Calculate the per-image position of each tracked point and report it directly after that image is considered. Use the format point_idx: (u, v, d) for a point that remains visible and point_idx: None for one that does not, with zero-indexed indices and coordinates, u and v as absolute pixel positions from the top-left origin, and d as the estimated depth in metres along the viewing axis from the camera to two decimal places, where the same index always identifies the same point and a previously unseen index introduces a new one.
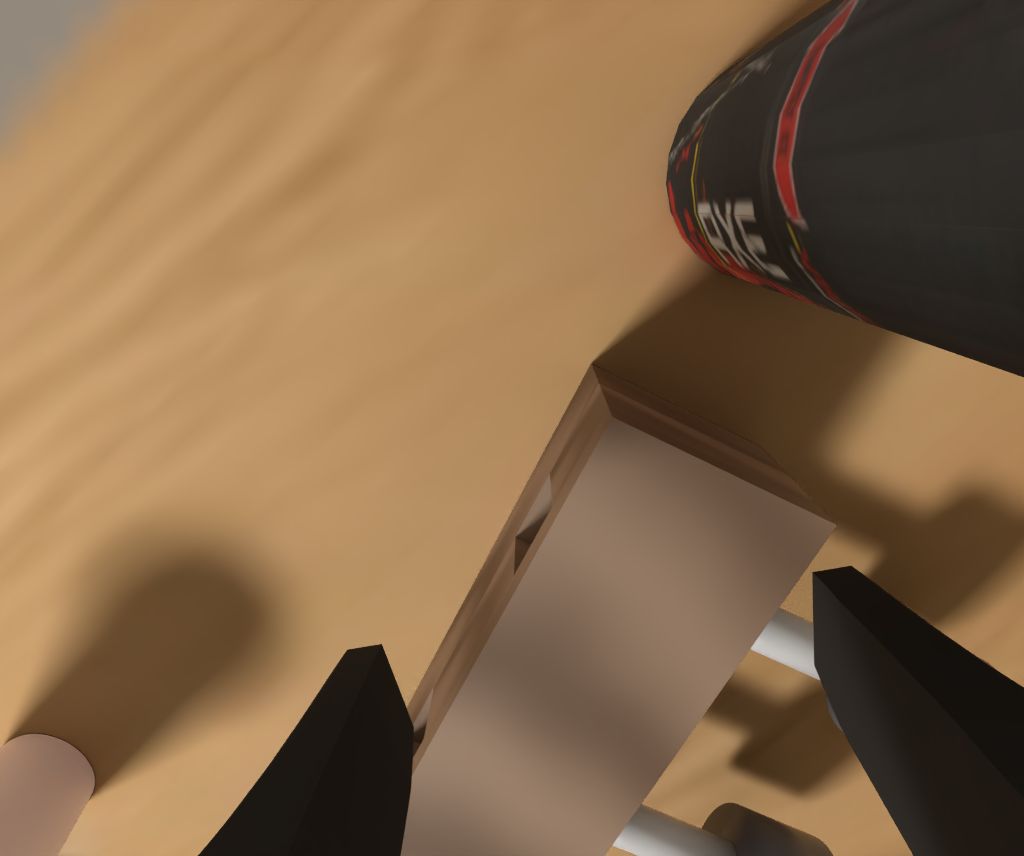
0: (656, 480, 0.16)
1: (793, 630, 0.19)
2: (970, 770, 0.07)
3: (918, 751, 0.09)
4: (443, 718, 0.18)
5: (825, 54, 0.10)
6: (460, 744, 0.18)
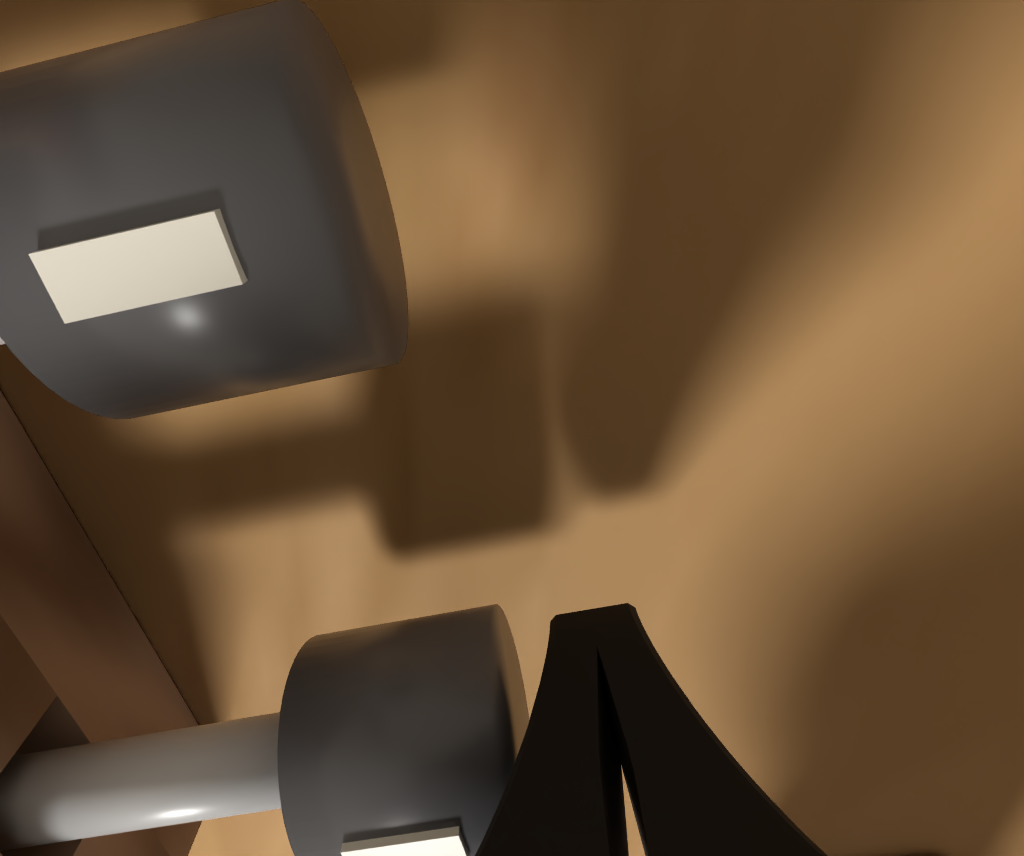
0: None
1: None
2: None
3: (635, 791, 0.09)
4: None
5: None
6: None
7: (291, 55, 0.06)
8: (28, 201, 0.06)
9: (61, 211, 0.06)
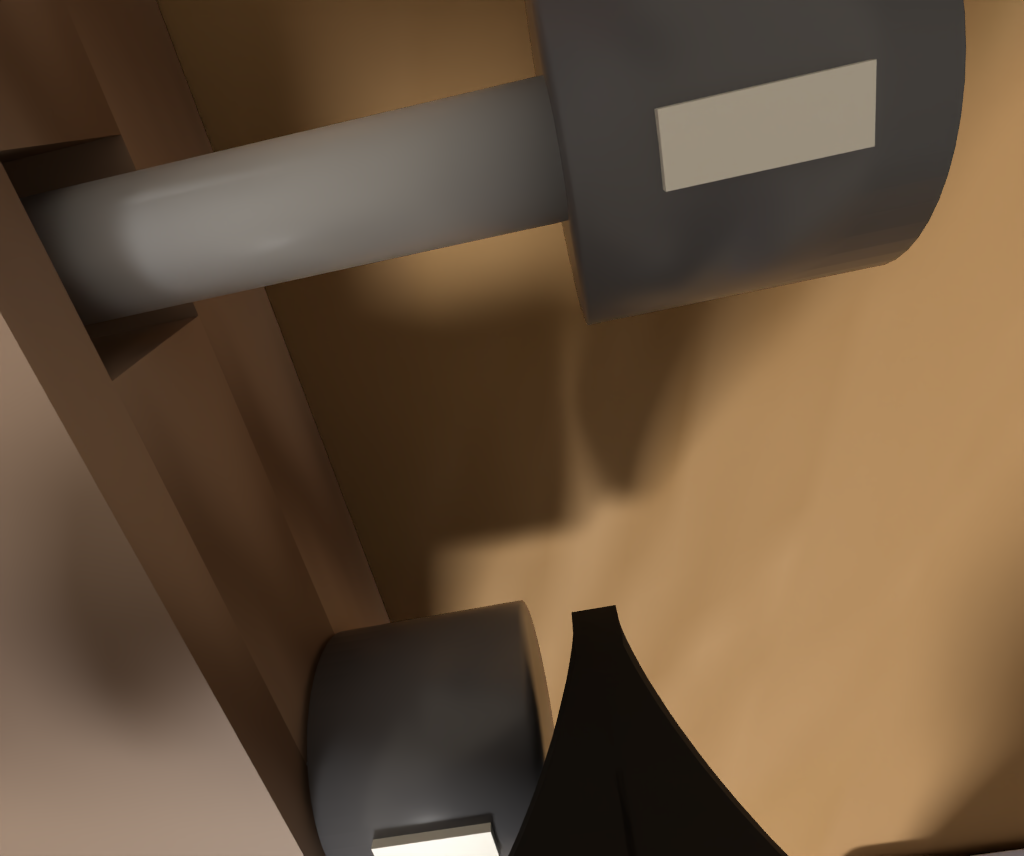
0: None
1: (234, 171, 0.07)
2: None
3: None
4: None
5: None
6: None
7: None
8: (649, 54, 0.05)
9: (688, 64, 0.05)
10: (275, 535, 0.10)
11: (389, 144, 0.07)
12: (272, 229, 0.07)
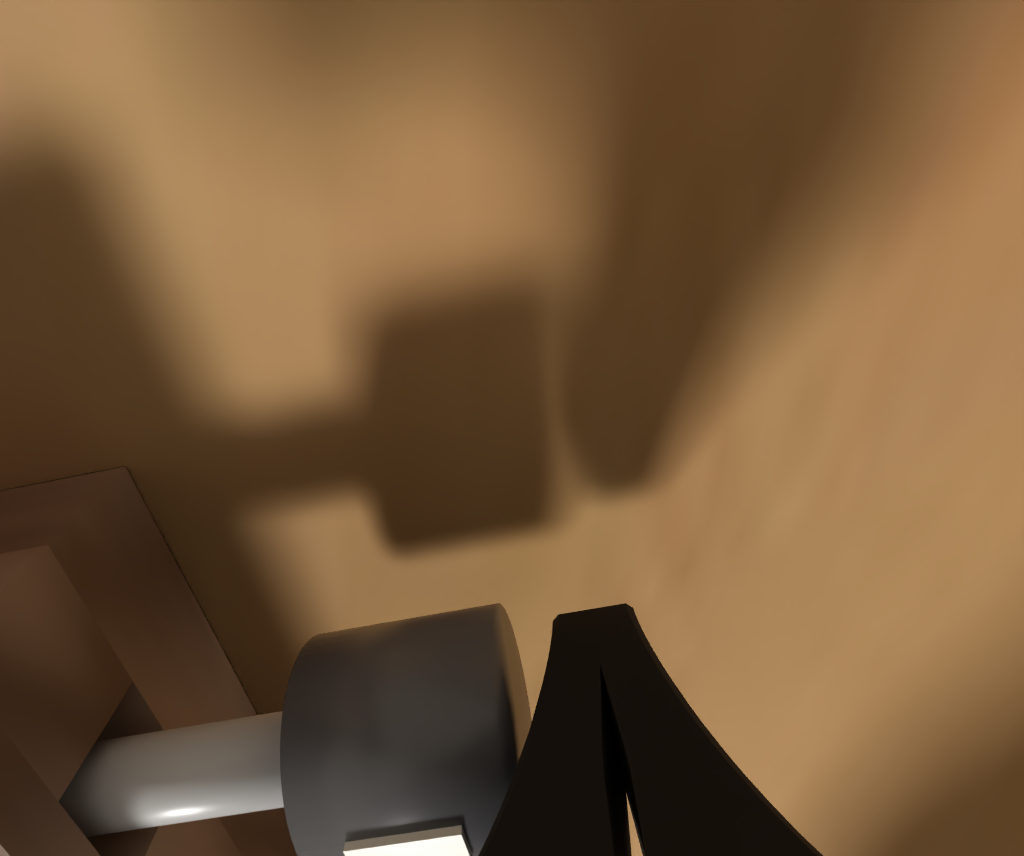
0: None
1: (121, 786, 0.11)
2: None
3: (632, 792, 0.09)
4: None
5: None
6: None
7: (498, 705, 0.09)
8: (340, 814, 0.09)
9: (362, 822, 0.09)
10: None
11: (216, 778, 0.10)
12: (146, 819, 0.11)
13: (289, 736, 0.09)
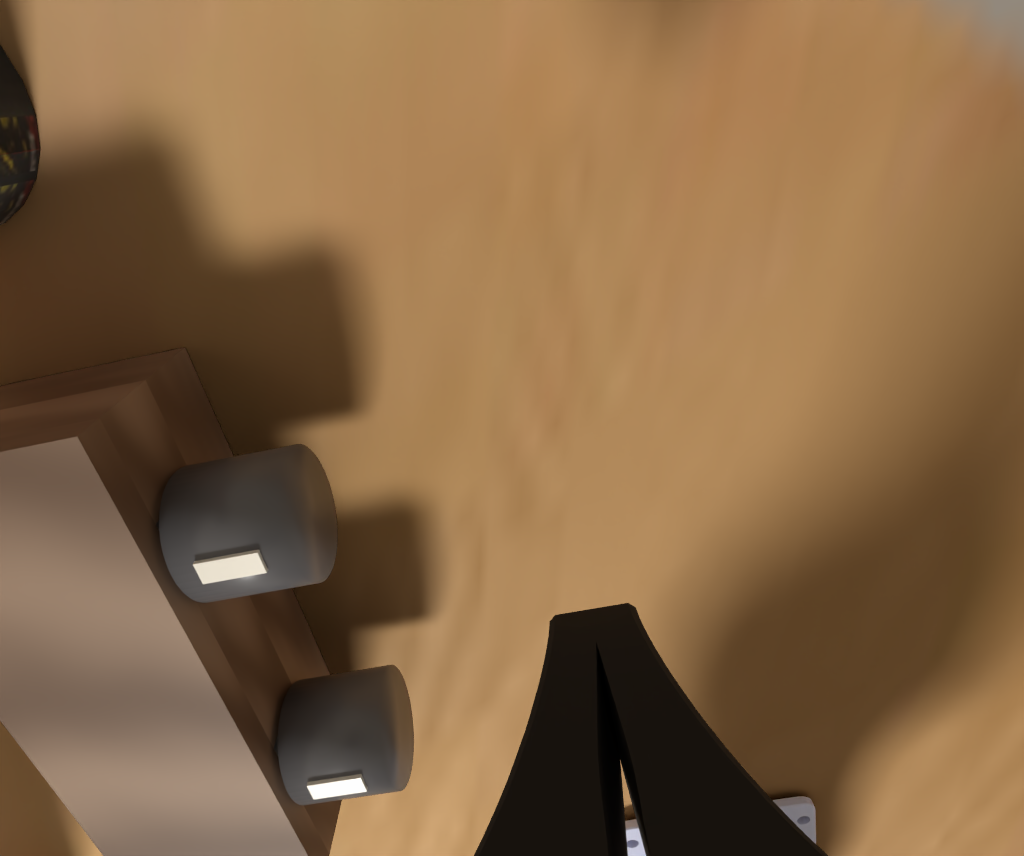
0: None
1: None
2: None
3: (636, 791, 0.09)
4: (39, 767, 0.19)
5: None
6: (71, 777, 0.19)
7: (284, 487, 0.17)
8: (192, 544, 0.16)
9: (203, 548, 0.16)
10: (259, 638, 0.21)
11: None
12: None
13: (165, 504, 0.17)
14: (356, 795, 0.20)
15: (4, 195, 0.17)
